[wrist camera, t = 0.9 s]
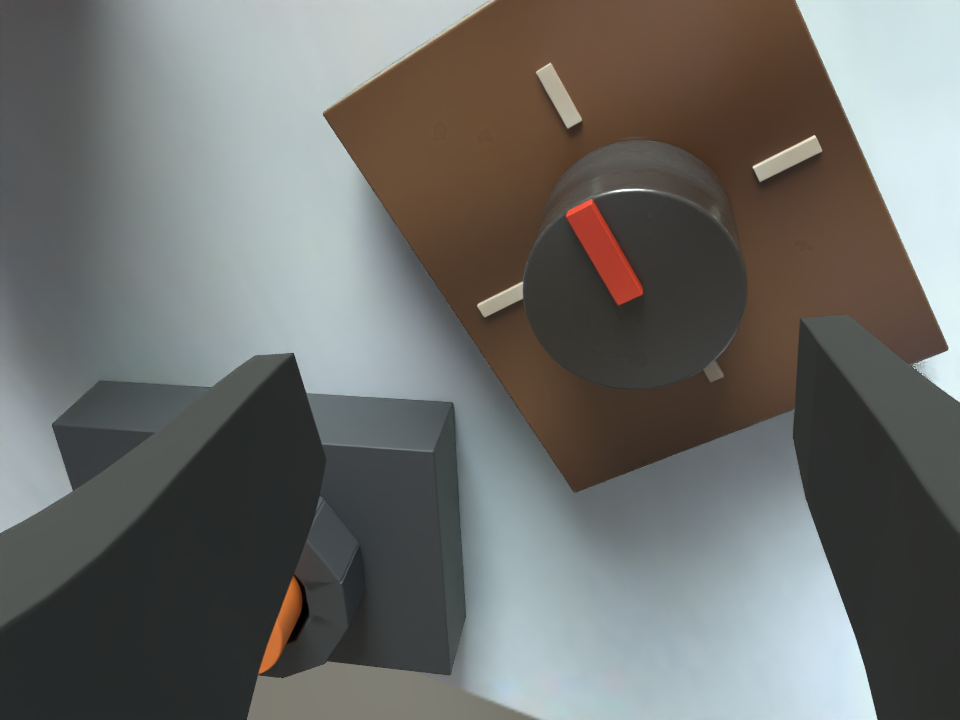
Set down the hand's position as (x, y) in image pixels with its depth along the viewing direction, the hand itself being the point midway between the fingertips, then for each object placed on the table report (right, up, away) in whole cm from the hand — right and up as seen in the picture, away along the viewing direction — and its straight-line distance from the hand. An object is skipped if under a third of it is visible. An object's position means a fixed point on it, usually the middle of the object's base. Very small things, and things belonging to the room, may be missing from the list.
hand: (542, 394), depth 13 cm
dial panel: (+3, +5, +10) cm, 12 cm away
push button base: (-7, -4, +18) cm, 20 cm away
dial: (+3, +3, +8) cm, 9 cm away
